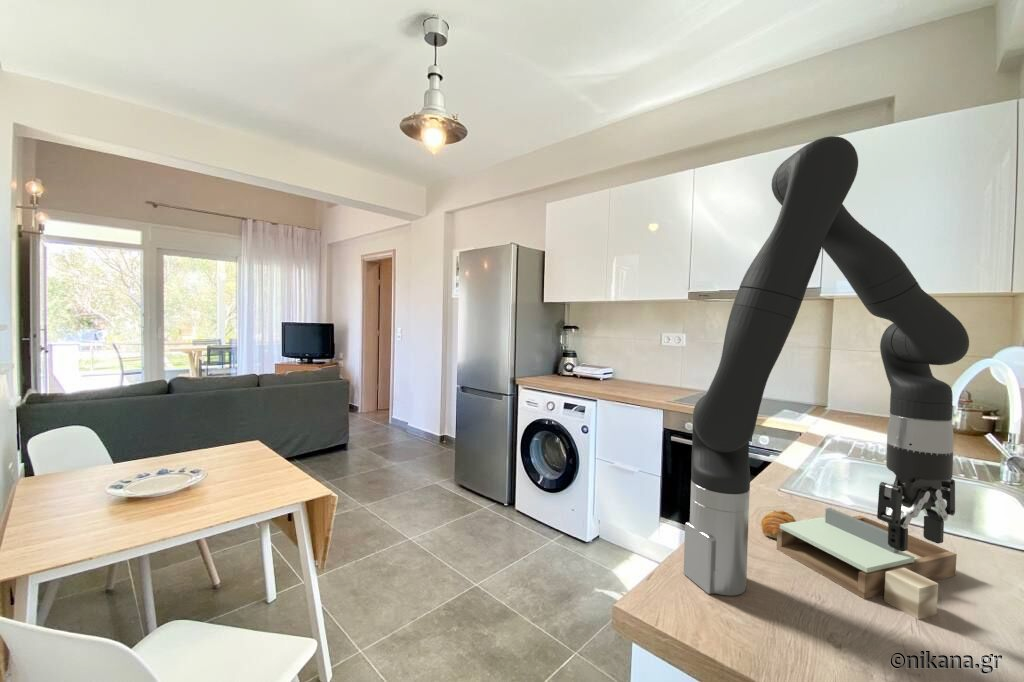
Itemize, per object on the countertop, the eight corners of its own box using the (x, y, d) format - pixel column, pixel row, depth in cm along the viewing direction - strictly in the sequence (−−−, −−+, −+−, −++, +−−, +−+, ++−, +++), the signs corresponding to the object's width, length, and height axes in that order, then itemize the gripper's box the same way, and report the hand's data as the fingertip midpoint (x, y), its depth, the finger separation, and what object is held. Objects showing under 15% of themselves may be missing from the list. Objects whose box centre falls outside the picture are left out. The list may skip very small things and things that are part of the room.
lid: (866, 572, 69) (867, 551, 68) (779, 528, 84) (780, 510, 83) (914, 561, 72) (915, 541, 72) (822, 520, 87) (823, 503, 87)
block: (917, 619, 64) (919, 588, 64) (884, 601, 68) (885, 571, 68) (936, 614, 65) (938, 583, 65) (902, 596, 69) (903, 567, 69)
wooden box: (864, 598, 68) (865, 575, 68) (776, 548, 84) (777, 529, 84) (955, 575, 76) (956, 554, 75) (859, 533, 91) (860, 515, 91)
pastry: (790, 546, 85) (791, 528, 85) (754, 535, 90) (754, 517, 90) (800, 531, 92) (801, 514, 92) (766, 521, 96) (766, 505, 96)
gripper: (918, 455, 60) (914, 565, 60) (979, 447, 64) (975, 550, 64) (861, 441, 67) (858, 539, 67) (919, 435, 71) (916, 528, 72)
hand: (915, 544), depth 66 cm, fingers open, 8 cm apart
